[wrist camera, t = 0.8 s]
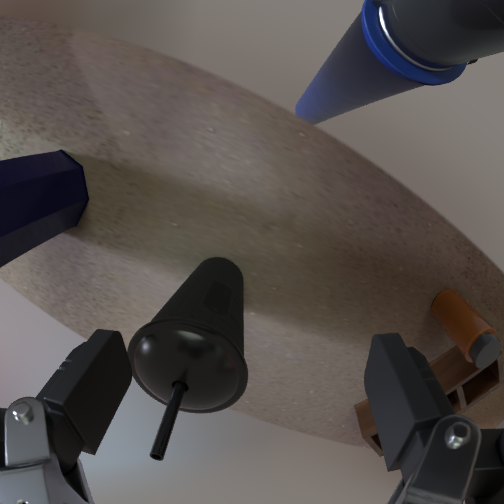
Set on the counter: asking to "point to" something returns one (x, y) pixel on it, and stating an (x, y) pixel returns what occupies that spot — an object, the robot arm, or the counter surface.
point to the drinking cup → (194, 347)
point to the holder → (445, 388)
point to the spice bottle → (466, 328)
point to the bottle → (38, 200)
